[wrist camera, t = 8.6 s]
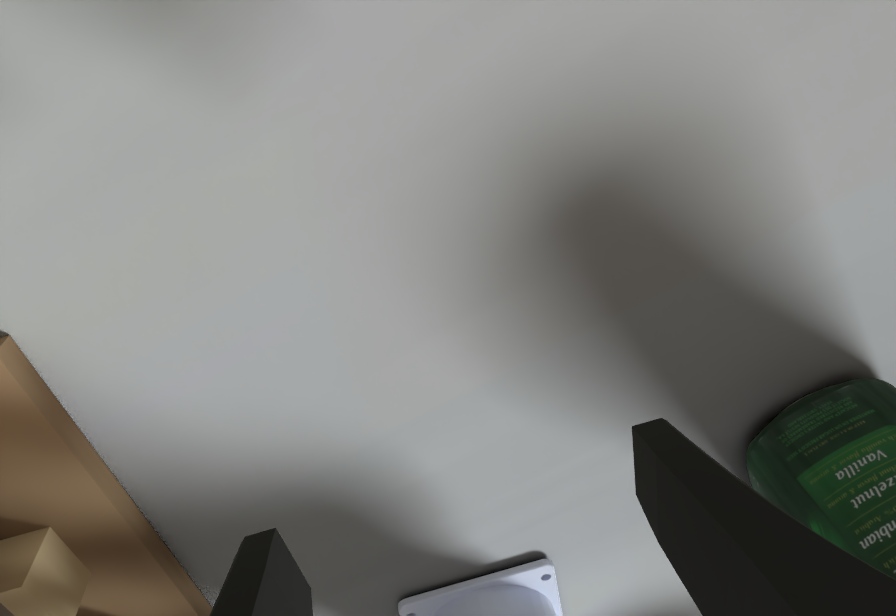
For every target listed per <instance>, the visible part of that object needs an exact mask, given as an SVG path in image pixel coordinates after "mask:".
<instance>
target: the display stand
mask: <svg viewBox="0 0 896 616" xmlns="http://www.w3.org/2000/svg"><path fill="white" fill-rule="evenodd" d="M0 603H1V604H2V605H3V606H5V607H6V608H7V609H8V610H9V611H10V612H11V613H12V614H13V615H14V616H210V613H211V611H212V609H213V608H212V607H211V605H210V604H209V603H208V601H207V600H206V599H205V597H204V596H203V595H202V593H201V592H200V591H199V589H198V588H197V587H196V585H195V584H194V583H193V581H192V580H191V579H190V577H189V576H188V575H187V573H186V572H185V570H184V569H183V568H182V566H181V565H180V564H179V562H178V561H177V560H176V558H175V557H174V556H173V554H172V553H171V552H170V550H169V549H168V548H167V546H166V545H165V544H164V542H163V541H162V540H161V538H160V537H159V536H158V534H157V533H156V532H155V530H154V529H153V527H152V526H151V525H150V523H149V522H148V521H147V519H146V518H145V517H144V515H143V514H142V513H141V511H140V510H139V509H138V507H137V506H136V505H135V503H134V502H133V501H132V499H131V498H130V497H129V495H128V494H127V493H126V491H125V490H124V488H123V487H122V486H121V484H120V483H119V482H118V480H117V479H116V478H115V476H114V475H113V474H112V472H111V471H110V470H109V468H108V467H107V466H106V464H105V463H104V462H103V460H102V459H101V458H100V456H99V455H98V454H97V452H96V451H95V450H94V448H93V447H92V445H91V444H90V443H89V441H88V440H87V439H86V437H85V436H84V435H83V433H82V432H81V431H80V429H79V428H78V427H77V425H76V424H75V423H74V421H73V420H72V419H71V417H70V416H69V415H68V413H67V412H66V411H65V409H64V408H63V407H62V405H61V404H60V402H59V401H58V400H57V398H56V397H55V396H54V394H53V393H52V392H51V390H50V389H49V388H48V386H47V385H46V384H45V382H44V381H43V380H42V378H41V377H40V376H39V374H38V373H37V372H36V370H35V369H34V368H33V366H32V365H31V363H30V362H29V361H28V359H27V358H26V357H25V355H24V354H23V353H22V351H21V350H20V349H19V347H18V346H17V345H16V343H15V342H14V341H13V339H12V338H11V337H10V335H8V336H4V337H1V338H0Z"/></svg>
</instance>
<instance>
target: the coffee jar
mask: <svg viewBox="0 0 896 616" xmlns="http://www.w3.org/2000/svg"><path fill="white" fill-rule="evenodd" d="M746 464H747V470H748V474H749V479H750V482H751V485H752V488H753V489H754V490H755V491H756V492H758V493H759V494H760V495H762V496H763V497H765V498H766V499H767V500H769V501H770V502H772V503H773V504H775V505H776V506H777V507H779V508H780V509H782V510H783V511H785V512H786V513H788V514H789V515H791V516H792V517H794V518H795V519H797V520H798V521H800V522H801V523H803V524H804V525H806V526H807V527H809V528H810V529H812V530H813V531H815V532H816V533H818V534H819V535H821V536H823V537H824V538H826V539H827V540H829V541H831V542H832V543H834V544H835V545H837V546H839V547H840V548H842V549H844V550H845V551H847V552H849V553H850V554H852V555H854V556H855V557H857V558H859V559H861V560H862V561H864V562H866V563H867V564H869V565H871V566H872V567H874V568H876V569H878V570H880V571H881V572H883V573H885V574H887V575H889V576H890V577H892V578H894V579H896V388H895V387H894V386H892V385H891V384H889V383H887V382H885V381H882V380H879V379H875V378H862V379H855V380H850V381H847V382H844V383H841V384H837V385H833V386H829V387H826V388H823V389H821V390H818V391H816V392H813V393H811V394H809V395H807V396H805V397H803V398H801V399H799V400H797V401H796V402H794V403H793V404H791V405H790V406H788V407H787V408H785V409H784V410H783V411H782V412H780V414H779V415H778V416H777V417H776V418H775V419H774V420H772V421H771V422H770V423H769V424H768V425H767V426H766V427H764V428H763V430H762V431H761V432H760V433H759V434H758V435H757V436H756V437H755V438H754V439H753V440H752V441H751V443H750V445H749V447H748V450H747V454H746Z"/></svg>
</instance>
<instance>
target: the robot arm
mask: <svg viewBox="0 0 896 616" xmlns="http://www.w3.org/2000/svg"><path fill="white" fill-rule="evenodd" d="M632 435H633V452H634V469H635V486H636V495H637V498H638V500H639V502H640V504H641V506H642V509H643V511H644V513H645V515H646V517H647V520H648V522H649V524H650V526H651V528H652V530H653V532H654V534H655V536H656V538H657V540H658V543H659V544H660V546H661V548H662V549H663V551H664V553H665V554H666V556H667V558H668V559H669V561H670V563H671V564H672V566H673V568H674V569H675V571H676V573H677V574H678V576H679V578H680V579H681V581H682V583H683V584H684V586H685V587H686V589H687V591H688V592H689V594H690V596H691V597H692V599H693V601H694V602H695V604H696V606H697V607H698V609H699V610H700V612H701V614H702V615H703V616H896V579H894V578H892V577H890V576H889V575H887V574H885V573H883V572H881V571H880V570H878V569H876V568H874V567H872V566H871V565H869V564H867V563H866V562H864V561H862V560H861V559H859V558H857V557H855V556H854V555H852V554H850V553H849V552H847V551H845V550H844V549H842V548H840V547H839V546H837V545H835V544H834V543H832V542H831V541H829V540H827V539H826V538H824V537H823V536H821V535H819V534H818V533H816V532H815V531H813V530H812V529H810V528H809V527H807V526H806V525H804V524H803V523H801V522H800V521H798V520H797V519H795V518H794V517H792V516H791V515H789V514H788V513H786V512H785V511H783V510H782V509H780V508H779V507H777V506H776V505H775V504H773V503H772V502H770V501H769V500H767V499H766V498H765V497H763V496H762V495H760V494H759V493H758V492H756V491H755V490H754V489H752V488H751V487H750V486H748V485H747V484H745V483H744V482H743V481H741V480H740V479H739V478H737V477H736V476H735V475H733V474H732V473H731V472H729V471H728V470H727V469H725V468H724V467H723V466H722V465H720V464H719V463H718V462H716V461H715V460H714V459H713V458H711V457H710V456H709V455H708V454H706V453H705V452H704V451H703V450H701V449H700V448H699V447H698V446H696V445H695V444H694V443H693V442H692V441H690V440H689V439H688V438H687V437H685V436H684V435H683V434H682V433H681V432H679V431H678V430H677V429H676V428H675V427H674V426H672V425H671V424H670V423H669V422H668V421H666V420H664V419H663V418H660V419H656V420H653V421H649V422H646V423H642V424H639V425H635V426H632ZM398 610H399V614H400V616H563V614H562V609H561V603H560V598H559V592H558V586H557V581H556V575H555V570H554V566H553V563H552V561H551V560H549V559H541V560H537V561H534V562H530V563H527V564H523V565H520V566H516V567H513V568H509V569H506V570H502V571H499V572H495V573H492V574H488V575H485V576H481V577H478V578H475V579H471V580H468V581H464V582H461V583H457V584H454V585H450V586H447V587H443V588H440V589H436V590H433V591H429V592H426V593H422V594H419V595H415V596H412V597H408V598H405V599H403V600H401V601H400V602H399V604H398ZM210 616H313V610H312V597H311V588H310V586H309V584H308V583H307V581H306V579H305V577H304V576H303V574H302V572H301V571H300V569H299V567H298V565H297V564H296V562H295V560H294V559H293V557H292V555H291V553H290V552H289V550H288V548H287V546H286V545H285V543H284V541H283V540H282V538H281V536H280V534H279V533H278V531H277V529H276V528H274V529H271V530H267V531H263V532H260V533H256V534H253V535H249V536H246V537H245V538H244V539H243V541H242V542H241V545H240V547H239V549H238V552H237V554H236V556H235V559H234V561H233V563H232V566H231V568H230V570H229V573H228V575H227V577H226V580H225V582H224V584H223V587H222V589H221V591H220V593H219V596H218V598H217V600H216V602H215V605H214V607H213V609H212V611H211V613H210Z"/></svg>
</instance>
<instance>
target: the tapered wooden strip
mask: <svg viewBox="0 0 896 616" xmlns="http://www.w3.org/2000/svg"><path fill="white" fill-rule="evenodd" d="M0 616H14V615H13V614H12V613H11V612H10V611H9V610H8V609H7V608H6V607H5V606H3V605H2V604H1V603H0Z"/></svg>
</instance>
